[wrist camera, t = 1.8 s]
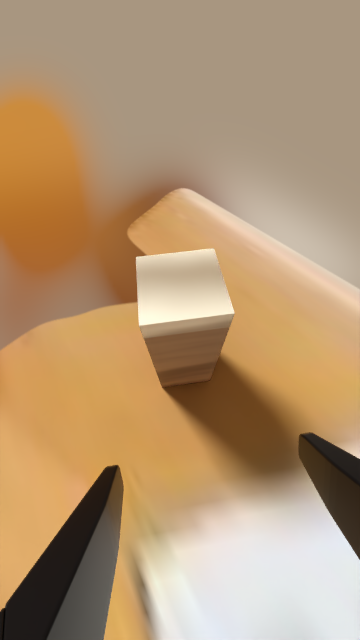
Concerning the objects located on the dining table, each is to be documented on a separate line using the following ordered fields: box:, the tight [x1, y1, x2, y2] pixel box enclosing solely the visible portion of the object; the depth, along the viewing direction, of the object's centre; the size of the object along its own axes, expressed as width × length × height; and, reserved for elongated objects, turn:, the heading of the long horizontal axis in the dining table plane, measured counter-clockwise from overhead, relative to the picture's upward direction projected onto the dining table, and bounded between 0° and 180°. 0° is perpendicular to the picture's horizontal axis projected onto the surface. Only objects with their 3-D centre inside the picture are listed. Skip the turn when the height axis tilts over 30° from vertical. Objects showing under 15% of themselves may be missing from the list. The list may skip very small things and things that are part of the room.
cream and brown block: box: [136, 248, 235, 387], centre depth 18 cm, size 5×5×13 cm
